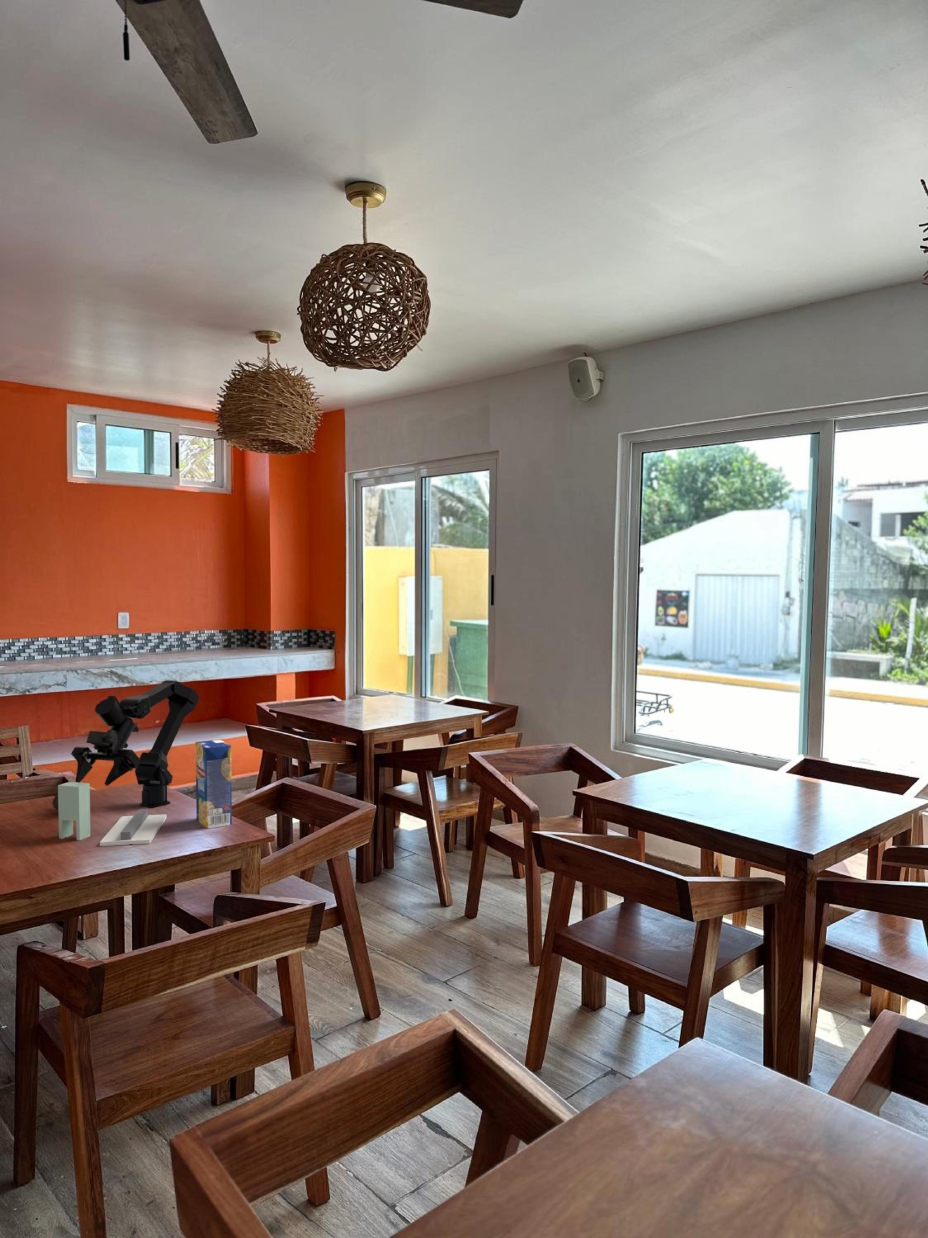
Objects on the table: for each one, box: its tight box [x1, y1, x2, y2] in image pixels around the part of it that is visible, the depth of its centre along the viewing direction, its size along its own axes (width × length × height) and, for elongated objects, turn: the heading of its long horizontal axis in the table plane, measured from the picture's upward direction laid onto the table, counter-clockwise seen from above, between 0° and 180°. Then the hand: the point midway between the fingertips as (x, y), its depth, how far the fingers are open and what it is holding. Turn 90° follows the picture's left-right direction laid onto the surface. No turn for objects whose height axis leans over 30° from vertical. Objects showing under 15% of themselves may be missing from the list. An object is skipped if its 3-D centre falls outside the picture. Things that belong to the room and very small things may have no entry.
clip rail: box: [99, 808, 167, 847], centre depth 221 cm, size 24×12×3 cm, turn 10°
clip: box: [57, 781, 91, 841], centre depth 216 cm, size 4×6×14 cm, turn 75°
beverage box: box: [195, 739, 233, 829], centre depth 230 cm, size 7×11×22 cm, turn 32°
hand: (91, 783), depth 222 cm, fingers open, 9 cm apart
